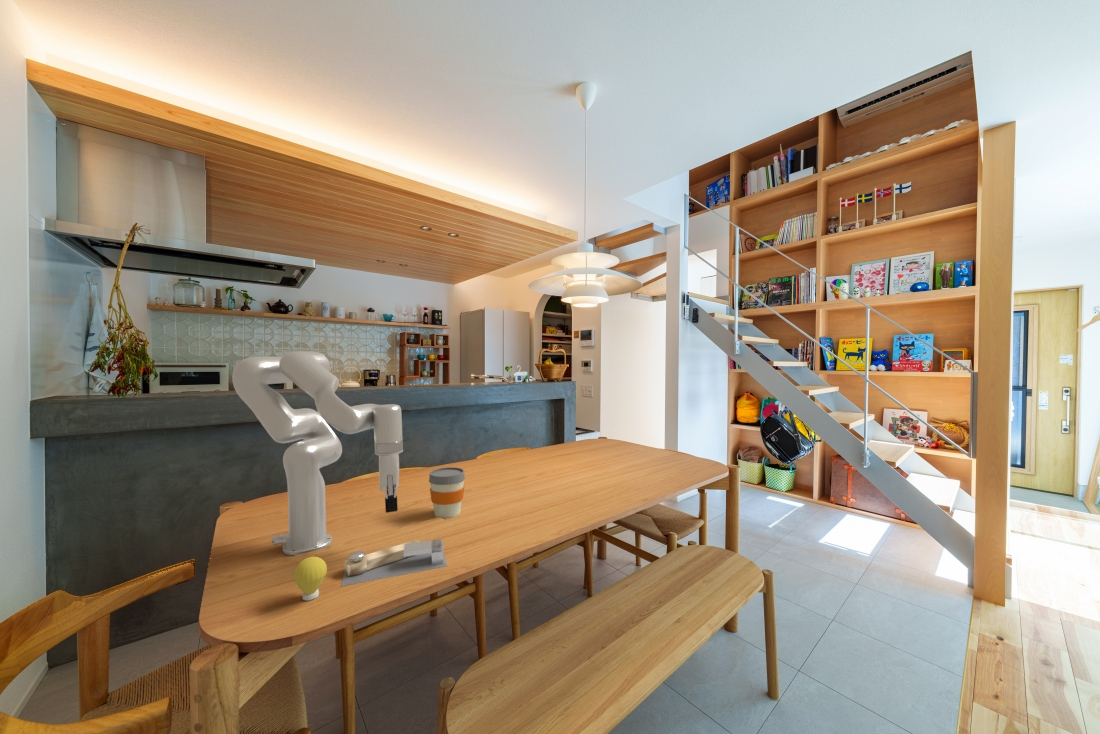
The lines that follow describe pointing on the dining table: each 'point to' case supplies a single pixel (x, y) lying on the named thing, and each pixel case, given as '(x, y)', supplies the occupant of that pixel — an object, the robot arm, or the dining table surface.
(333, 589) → the dining table surface
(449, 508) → the reusable coffee cup
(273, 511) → the dining table surface
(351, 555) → the pin cap
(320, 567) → the light bulb
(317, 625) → the dining table surface
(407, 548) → the block
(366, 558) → the arm link
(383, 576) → the base board
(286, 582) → the dining table surface
